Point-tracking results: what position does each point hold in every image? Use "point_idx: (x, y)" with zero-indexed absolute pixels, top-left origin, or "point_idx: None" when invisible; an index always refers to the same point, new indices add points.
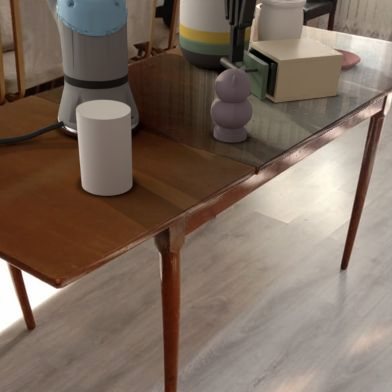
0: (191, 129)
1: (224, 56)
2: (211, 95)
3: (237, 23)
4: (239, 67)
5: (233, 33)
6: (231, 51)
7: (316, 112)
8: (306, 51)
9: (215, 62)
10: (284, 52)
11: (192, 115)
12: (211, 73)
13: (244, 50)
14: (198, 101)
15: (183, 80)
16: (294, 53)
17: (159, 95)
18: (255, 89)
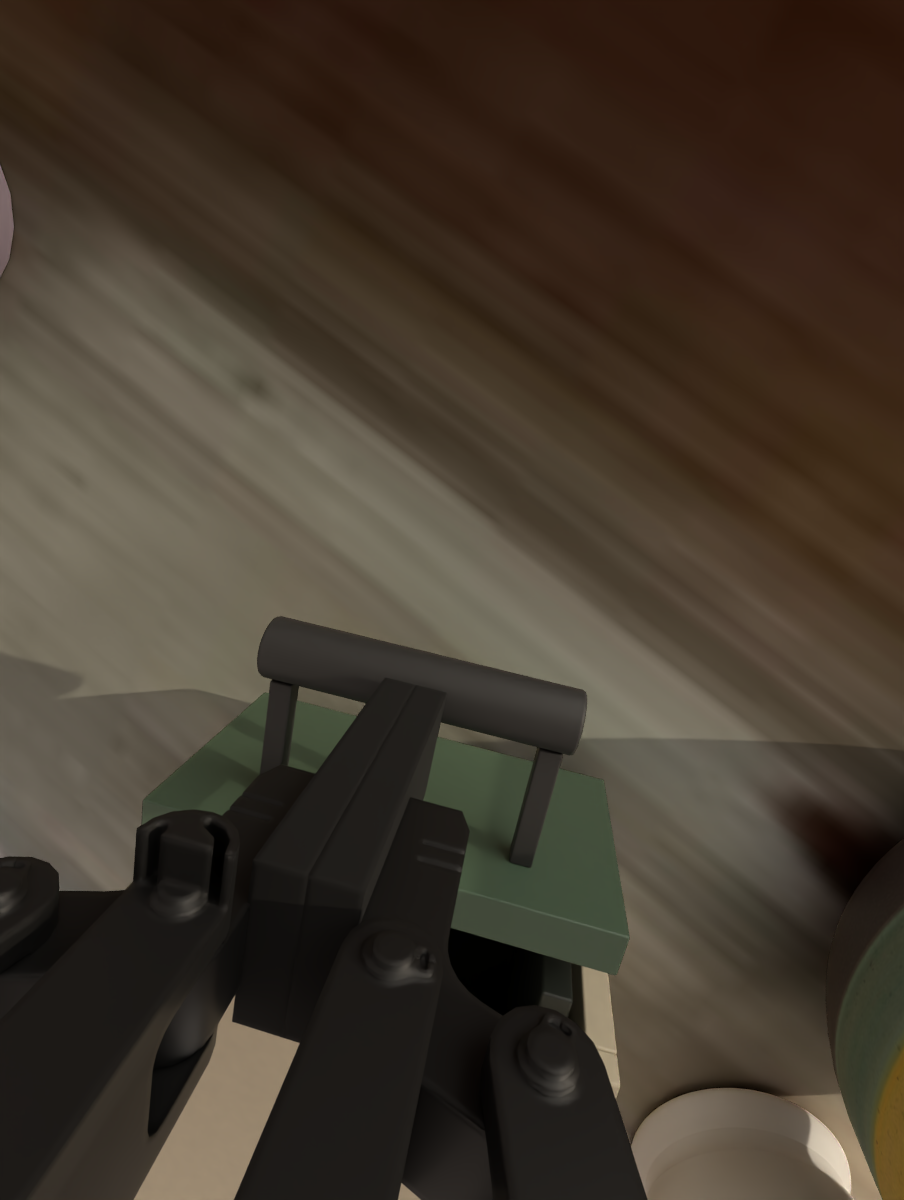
0: (73, 20)
1: (868, 931)
2: (517, 520)
3: (103, 919)
4: (276, 663)
5: (283, 819)
6: (378, 719)
7: (78, 824)
8: (208, 1197)
9: (899, 856)
10: (243, 1078)
11: (271, 173)
12: (874, 791)
13: (538, 941)
14: (467, 371)
15: (886, 532)
16: (198, 1111)
17: (722, 156)
18: (318, 723)
